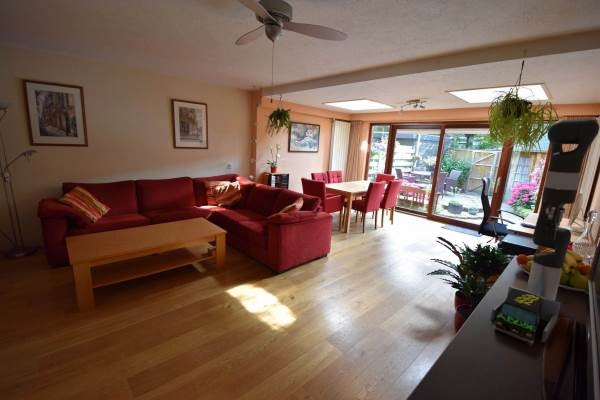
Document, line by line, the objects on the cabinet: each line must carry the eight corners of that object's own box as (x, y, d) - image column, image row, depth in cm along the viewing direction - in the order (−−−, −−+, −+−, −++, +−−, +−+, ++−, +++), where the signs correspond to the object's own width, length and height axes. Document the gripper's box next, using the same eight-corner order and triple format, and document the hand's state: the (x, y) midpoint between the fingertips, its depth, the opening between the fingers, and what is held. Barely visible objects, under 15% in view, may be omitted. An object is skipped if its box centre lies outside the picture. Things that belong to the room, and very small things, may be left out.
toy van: (491, 333, 91) (496, 306, 89) (505, 307, 108) (510, 284, 106) (532, 350, 83) (538, 322, 82) (540, 320, 100) (546, 295, 99)
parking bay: (506, 303, 111) (510, 285, 109) (556, 322, 99) (560, 303, 97) (490, 318, 99) (494, 299, 98) (544, 342, 87) (549, 320, 86)
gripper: (549, 184, 89) (539, 233, 92) (539, 186, 81) (528, 240, 84) (581, 187, 83) (569, 239, 87) (573, 190, 75) (560, 247, 79)
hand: (549, 240), depth 85 cm, fingers closed
